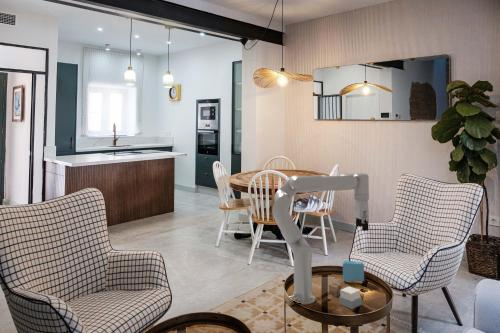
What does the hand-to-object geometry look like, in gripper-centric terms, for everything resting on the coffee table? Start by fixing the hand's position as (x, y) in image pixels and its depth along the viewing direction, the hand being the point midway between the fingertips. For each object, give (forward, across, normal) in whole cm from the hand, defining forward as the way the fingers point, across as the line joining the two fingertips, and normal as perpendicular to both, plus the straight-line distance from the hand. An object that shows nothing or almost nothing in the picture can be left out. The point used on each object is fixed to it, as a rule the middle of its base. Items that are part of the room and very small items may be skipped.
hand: (362, 228), depth 200 cm
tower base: (+38, +9, -10) cm, 40 cm away
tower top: (+34, +9, -10) cm, 36 cm away
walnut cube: (+37, -6, -14) cm, 40 cm away
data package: (+38, -21, +2) cm, 43 cm away
